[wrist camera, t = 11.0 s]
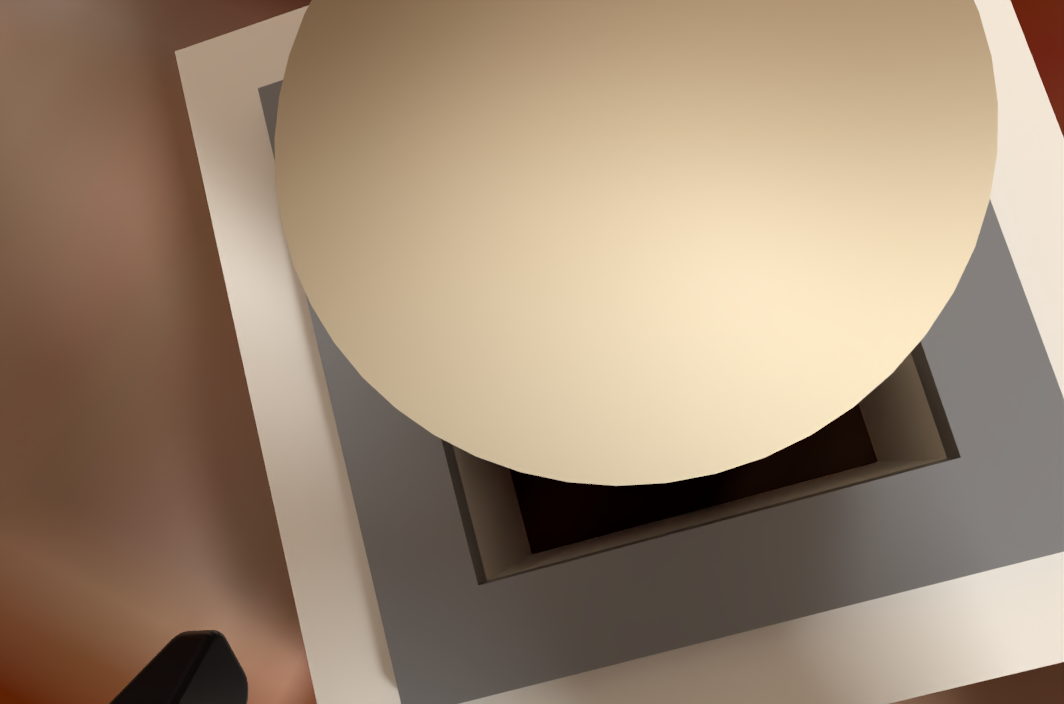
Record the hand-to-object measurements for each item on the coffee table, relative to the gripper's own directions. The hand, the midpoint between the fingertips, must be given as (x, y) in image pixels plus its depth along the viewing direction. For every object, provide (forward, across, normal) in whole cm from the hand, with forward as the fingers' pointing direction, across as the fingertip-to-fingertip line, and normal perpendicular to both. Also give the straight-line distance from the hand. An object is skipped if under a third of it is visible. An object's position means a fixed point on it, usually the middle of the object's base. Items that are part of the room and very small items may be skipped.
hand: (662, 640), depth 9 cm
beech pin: (+8, 0, +2) cm, 9 cm away
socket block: (+8, 0, +2) cm, 9 cm away
